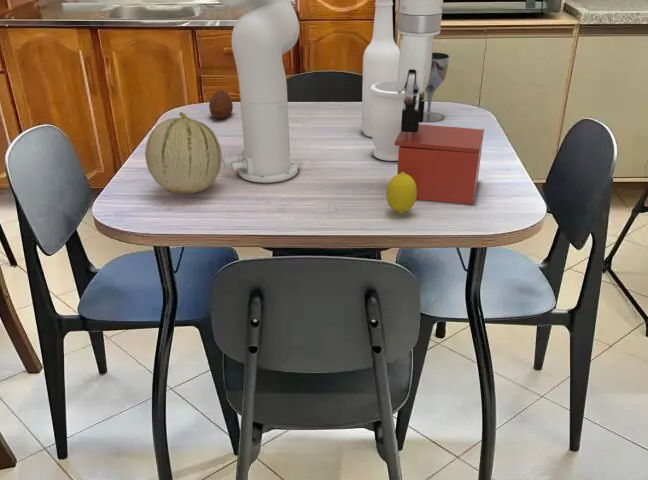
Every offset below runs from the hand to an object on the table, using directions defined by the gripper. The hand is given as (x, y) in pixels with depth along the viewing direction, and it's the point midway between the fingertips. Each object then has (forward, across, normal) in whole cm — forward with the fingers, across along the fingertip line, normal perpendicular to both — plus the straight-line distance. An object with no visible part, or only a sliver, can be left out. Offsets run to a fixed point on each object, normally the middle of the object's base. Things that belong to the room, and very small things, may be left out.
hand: (412, 125), depth 130 cm
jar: (+13, -18, -7) cm, 23 cm away
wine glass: (+13, -49, -3) cm, 51 cm away
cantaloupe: (+13, +12, -43) cm, 46 cm away
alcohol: (+13, -33, -12) cm, 38 cm away
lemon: (+13, +13, +1) cm, 18 cm away
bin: (+12, 0, +6) cm, 14 cm away
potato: (+13, -38, -56) cm, 69 cm away
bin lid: (+2, 0, +6) cm, 6 cm away
